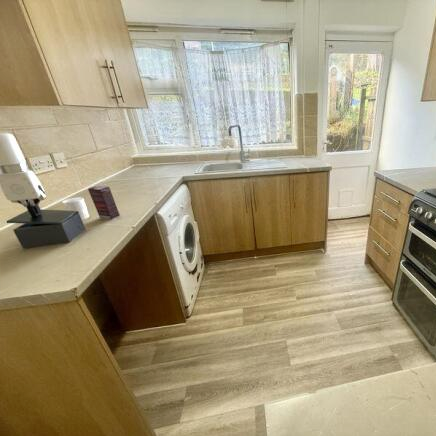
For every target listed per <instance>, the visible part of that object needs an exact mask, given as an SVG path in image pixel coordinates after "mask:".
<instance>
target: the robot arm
mask: <svg viewBox="0 0 436 436" xmlns="http://www.w3.org/2000/svg"><path fill="white" fill-rule="evenodd" d="M0 188H1V190H2V192H3V195H4V197H5V198H6V200H7V201H10V202H11V203H12V204H13V203H15V204H20V205H22V206H23V207H24V208H26V209H27V210H26V211H28V212H29V213H30V215H31V216H38V215H40V214H41V210H42V209H41V207H40V206H39V204H40V202H41V201H44V200H46V199H47V198H48V197H47V196H46V191H45V189H44V187H43V185H42V183H41V181H40V180H39V178H38V177H37V175H36V174H35V172H34V171H33V170H31V169H30V168H29V165H28V163H27V161H26V159H25V157H24V154H23V152H22V150H21V148H20V146H19V144H18V141H17V140H16V138H15V136H14V135H13V134H11V133H9V132H0Z"/></svg>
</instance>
